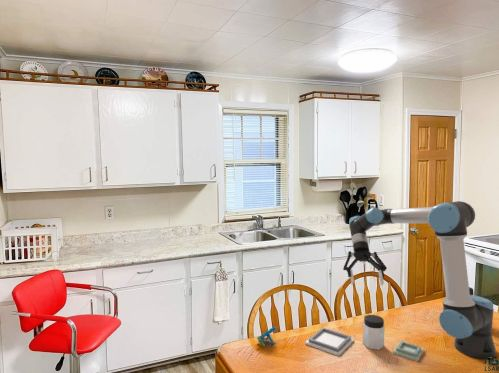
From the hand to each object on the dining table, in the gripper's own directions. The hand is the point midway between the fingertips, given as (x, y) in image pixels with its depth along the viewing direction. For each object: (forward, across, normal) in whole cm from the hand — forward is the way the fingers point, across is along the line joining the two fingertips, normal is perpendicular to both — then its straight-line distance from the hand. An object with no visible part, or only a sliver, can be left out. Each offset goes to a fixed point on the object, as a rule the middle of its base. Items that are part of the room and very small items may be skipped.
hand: (367, 283), depth 169 cm
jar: (+25, 0, -9) cm, 26 cm away
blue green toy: (+25, +47, -9) cm, 54 cm away
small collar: (+28, -14, -5) cm, 32 cm away
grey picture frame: (+24, +18, -10) cm, 32 cm away
